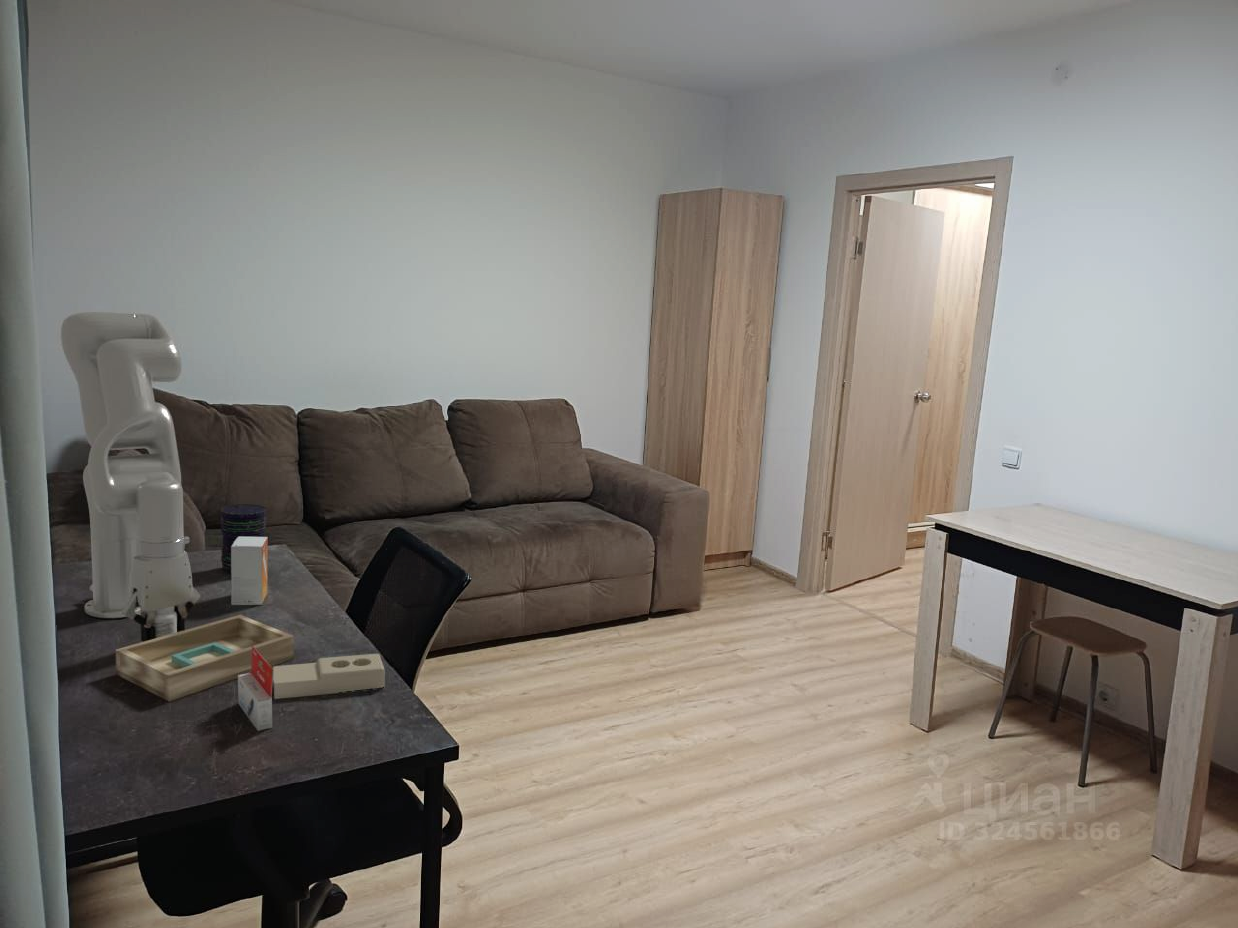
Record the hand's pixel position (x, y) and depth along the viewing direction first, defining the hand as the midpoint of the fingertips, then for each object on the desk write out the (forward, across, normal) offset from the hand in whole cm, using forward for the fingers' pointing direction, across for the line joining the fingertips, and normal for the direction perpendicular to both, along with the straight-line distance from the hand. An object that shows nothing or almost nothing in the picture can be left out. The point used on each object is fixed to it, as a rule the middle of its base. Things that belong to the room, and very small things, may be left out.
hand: (163, 640), depth 171 cm
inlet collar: (+1, 0, +14) cm, 14 cm away
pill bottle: (+1, 0, 0) cm, 1 cm away
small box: (+1, -26, -11) cm, 28 cm away
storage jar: (+1, -37, -29) cm, 47 cm away
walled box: (+1, 0, +14) cm, 14 cm away
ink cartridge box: (+1, +6, +36) cm, 37 cm away
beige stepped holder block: (+2, -9, +35) cm, 37 cm away
